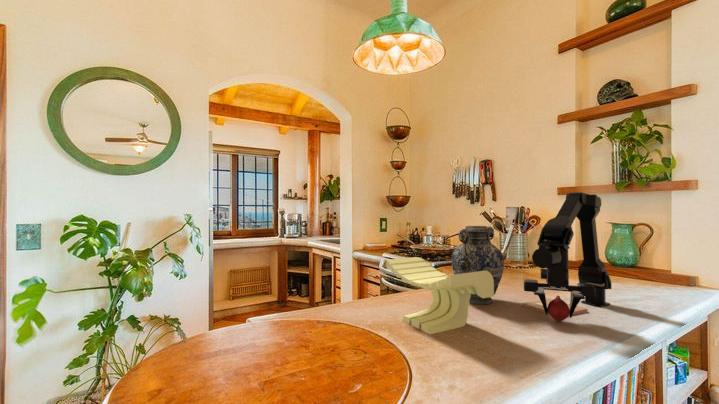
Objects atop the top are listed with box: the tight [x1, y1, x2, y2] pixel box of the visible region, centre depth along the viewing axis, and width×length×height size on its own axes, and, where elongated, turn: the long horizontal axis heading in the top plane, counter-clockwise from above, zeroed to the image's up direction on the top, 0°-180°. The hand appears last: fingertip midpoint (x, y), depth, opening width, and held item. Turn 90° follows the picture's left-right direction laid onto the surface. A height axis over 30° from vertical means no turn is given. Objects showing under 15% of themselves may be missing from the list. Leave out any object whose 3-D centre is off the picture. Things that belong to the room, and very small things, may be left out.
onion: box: [547, 295, 569, 323], centre depth 104 cm, size 6×6×8 cm
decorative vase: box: [451, 225, 505, 305], centre depth 128 cm, size 21×19×28 cm
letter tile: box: [521, 298, 588, 316], centre depth 117 cm, size 14×14×1 cm
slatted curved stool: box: [386, 256, 495, 335], centre depth 104 cm, size 30×16×18 cm, turn 29°
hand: (558, 316), depth 104 cm, fingers closed on onion, 6 cm apart
